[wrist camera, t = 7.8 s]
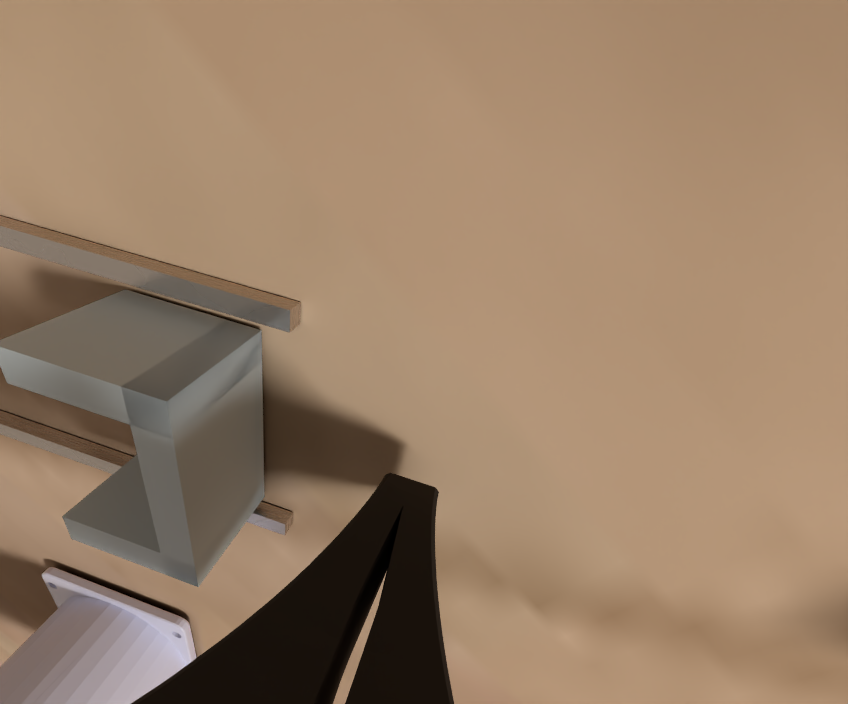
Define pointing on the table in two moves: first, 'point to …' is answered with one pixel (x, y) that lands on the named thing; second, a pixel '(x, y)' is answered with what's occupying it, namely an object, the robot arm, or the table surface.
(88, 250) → the track
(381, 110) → the table surface
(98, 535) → the cap
